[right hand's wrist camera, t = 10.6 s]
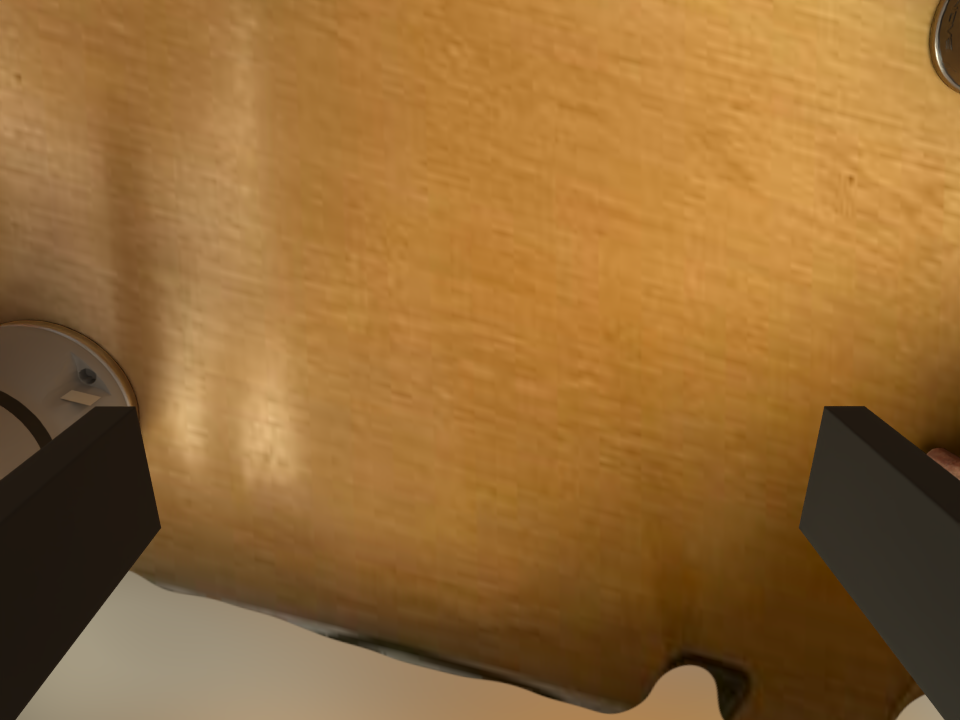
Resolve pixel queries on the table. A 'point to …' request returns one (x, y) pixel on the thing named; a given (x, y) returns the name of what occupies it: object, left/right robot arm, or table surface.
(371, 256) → the table surface
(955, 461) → the sculpture
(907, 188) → the table surface
